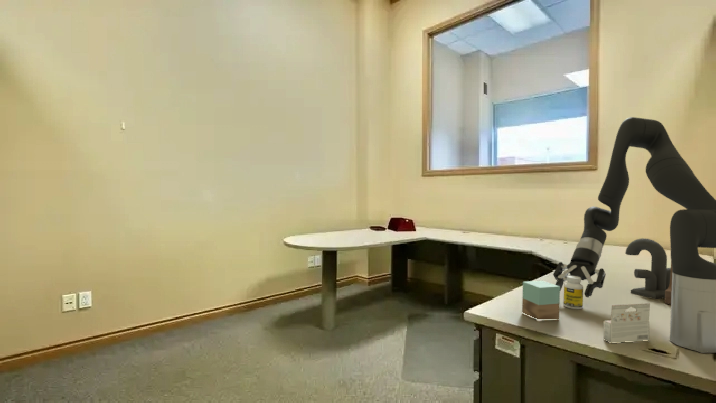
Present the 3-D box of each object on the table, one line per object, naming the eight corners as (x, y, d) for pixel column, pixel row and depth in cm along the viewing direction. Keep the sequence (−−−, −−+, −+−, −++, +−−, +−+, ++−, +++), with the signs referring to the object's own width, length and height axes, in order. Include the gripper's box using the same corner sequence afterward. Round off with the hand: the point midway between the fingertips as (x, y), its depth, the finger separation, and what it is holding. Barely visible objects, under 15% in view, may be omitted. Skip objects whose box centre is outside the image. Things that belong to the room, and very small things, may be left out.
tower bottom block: (559, 320, 107) (559, 303, 107) (538, 322, 105) (538, 304, 105) (541, 312, 114) (542, 296, 114) (522, 314, 112) (522, 297, 112)
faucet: (640, 284, 150) (641, 235, 150) (686, 294, 135) (688, 240, 135) (609, 288, 144) (611, 237, 143) (654, 299, 129) (656, 242, 128)
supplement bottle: (563, 307, 118) (564, 277, 118) (563, 303, 123) (563, 274, 123) (583, 310, 116) (584, 279, 115) (582, 305, 121) (582, 276, 120)
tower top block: (559, 303, 107) (559, 286, 107) (538, 305, 105) (539, 287, 105) (542, 296, 113) (542, 280, 113) (522, 298, 112) (522, 281, 112)
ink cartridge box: (602, 340, 93) (603, 302, 92) (640, 338, 94) (642, 300, 94) (610, 344, 90) (611, 305, 90) (649, 342, 92) (651, 303, 92)
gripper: (561, 244, 129) (545, 281, 122) (608, 249, 118) (593, 290, 111) (568, 257, 133) (552, 294, 126) (614, 264, 121) (599, 305, 115)
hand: (571, 292), depth 118 cm, fingers open, 8 cm apart
